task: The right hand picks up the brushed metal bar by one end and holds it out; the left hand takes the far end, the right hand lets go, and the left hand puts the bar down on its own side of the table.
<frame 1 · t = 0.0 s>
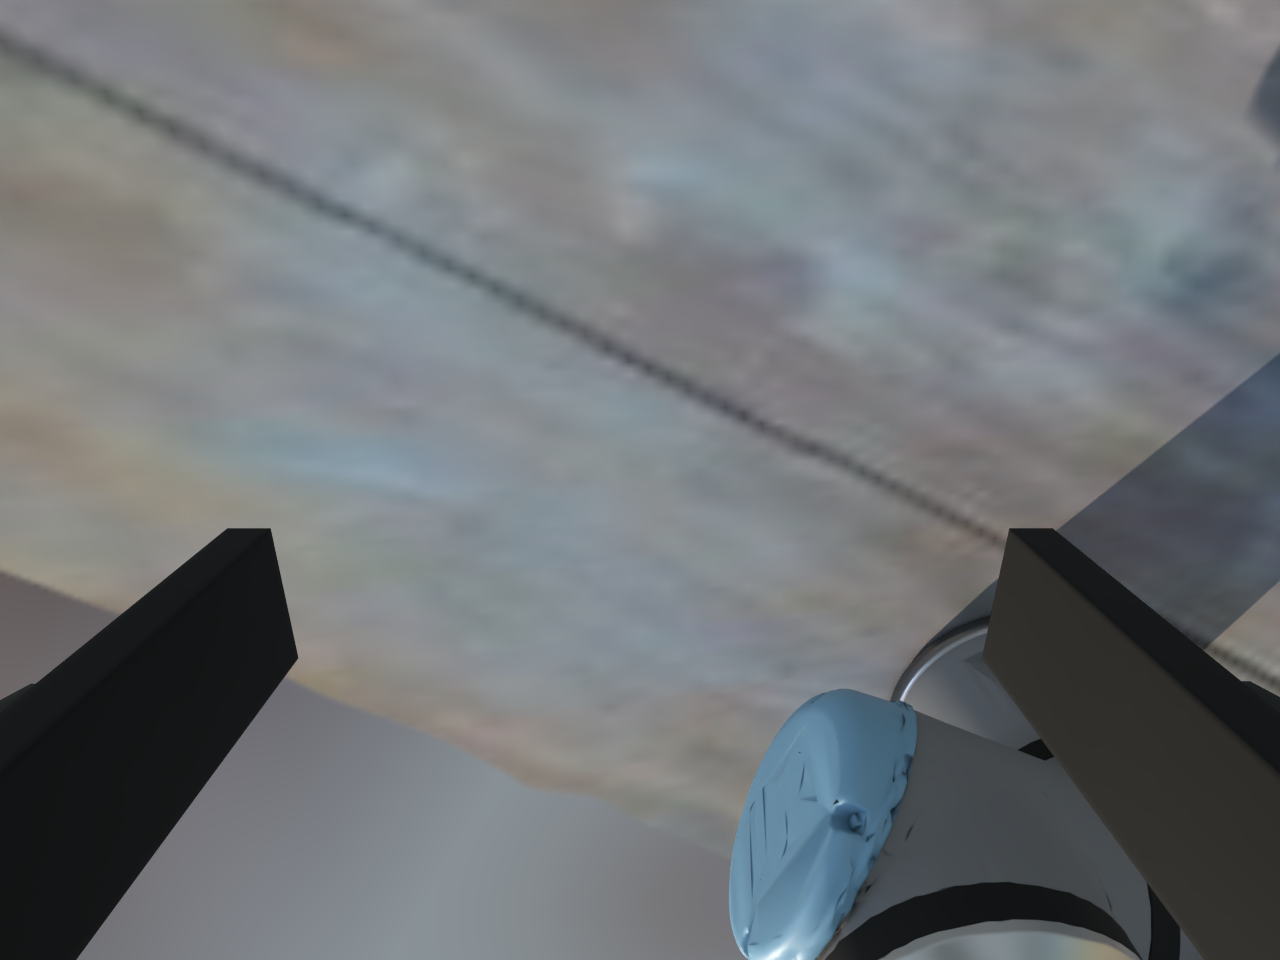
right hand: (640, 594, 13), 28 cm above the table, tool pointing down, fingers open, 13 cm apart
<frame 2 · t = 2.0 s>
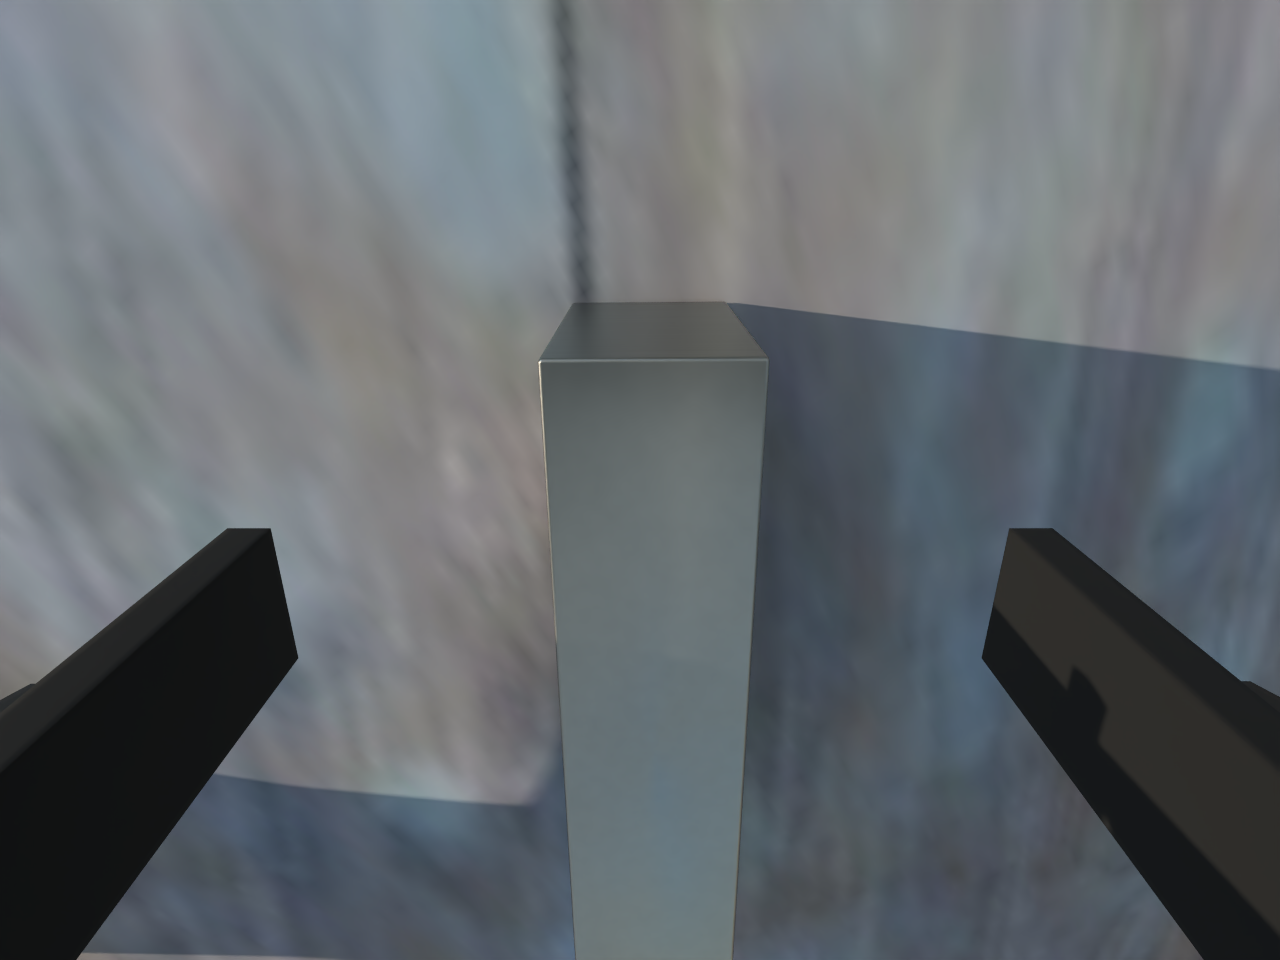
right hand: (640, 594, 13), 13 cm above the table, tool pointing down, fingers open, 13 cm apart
bar: (650, 588, 28), on the table
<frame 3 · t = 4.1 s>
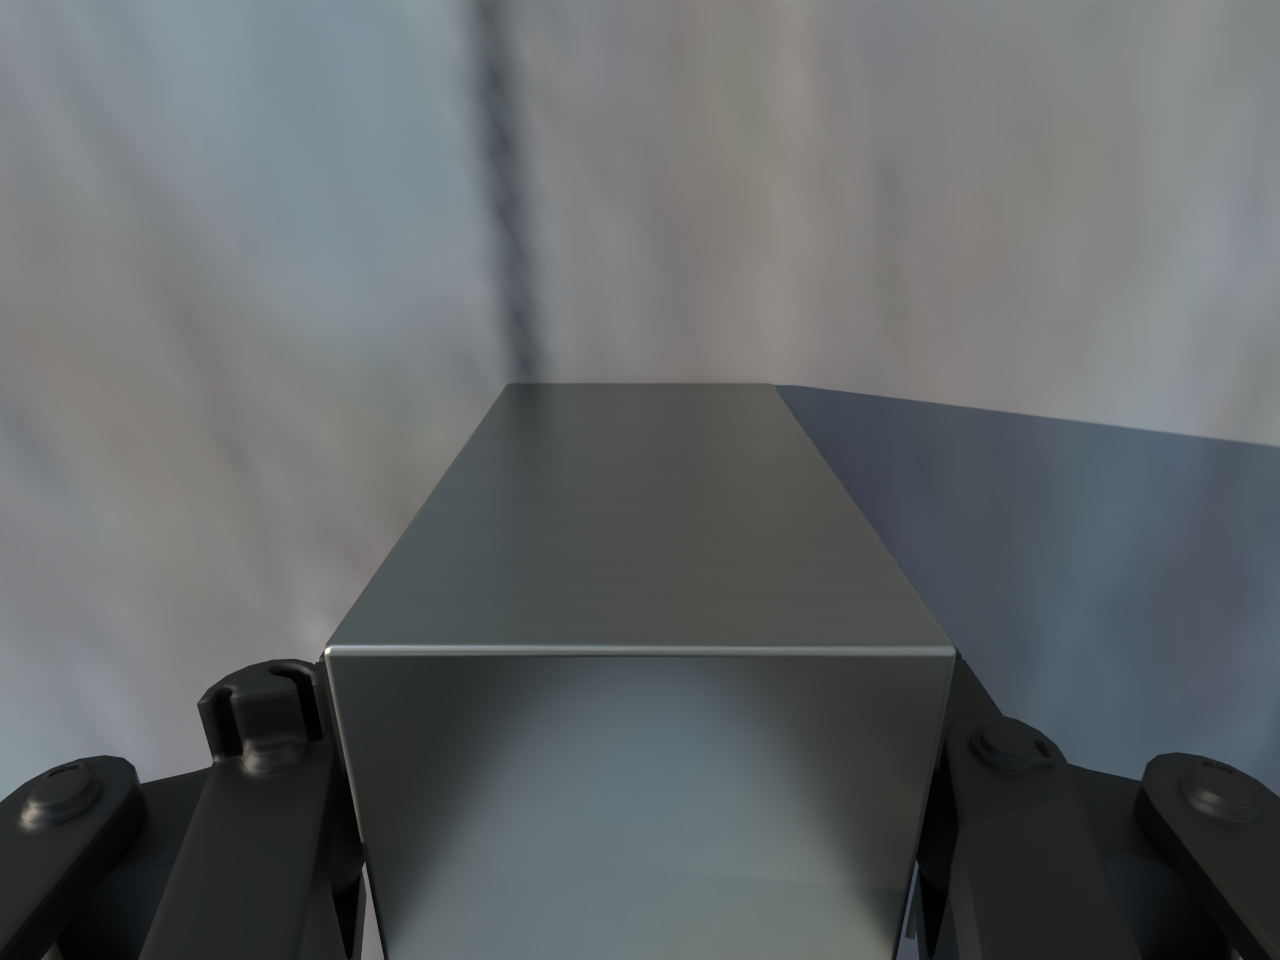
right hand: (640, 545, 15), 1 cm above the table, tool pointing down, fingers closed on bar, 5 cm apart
bar: (640, 813, 18), on the table, touching right hand
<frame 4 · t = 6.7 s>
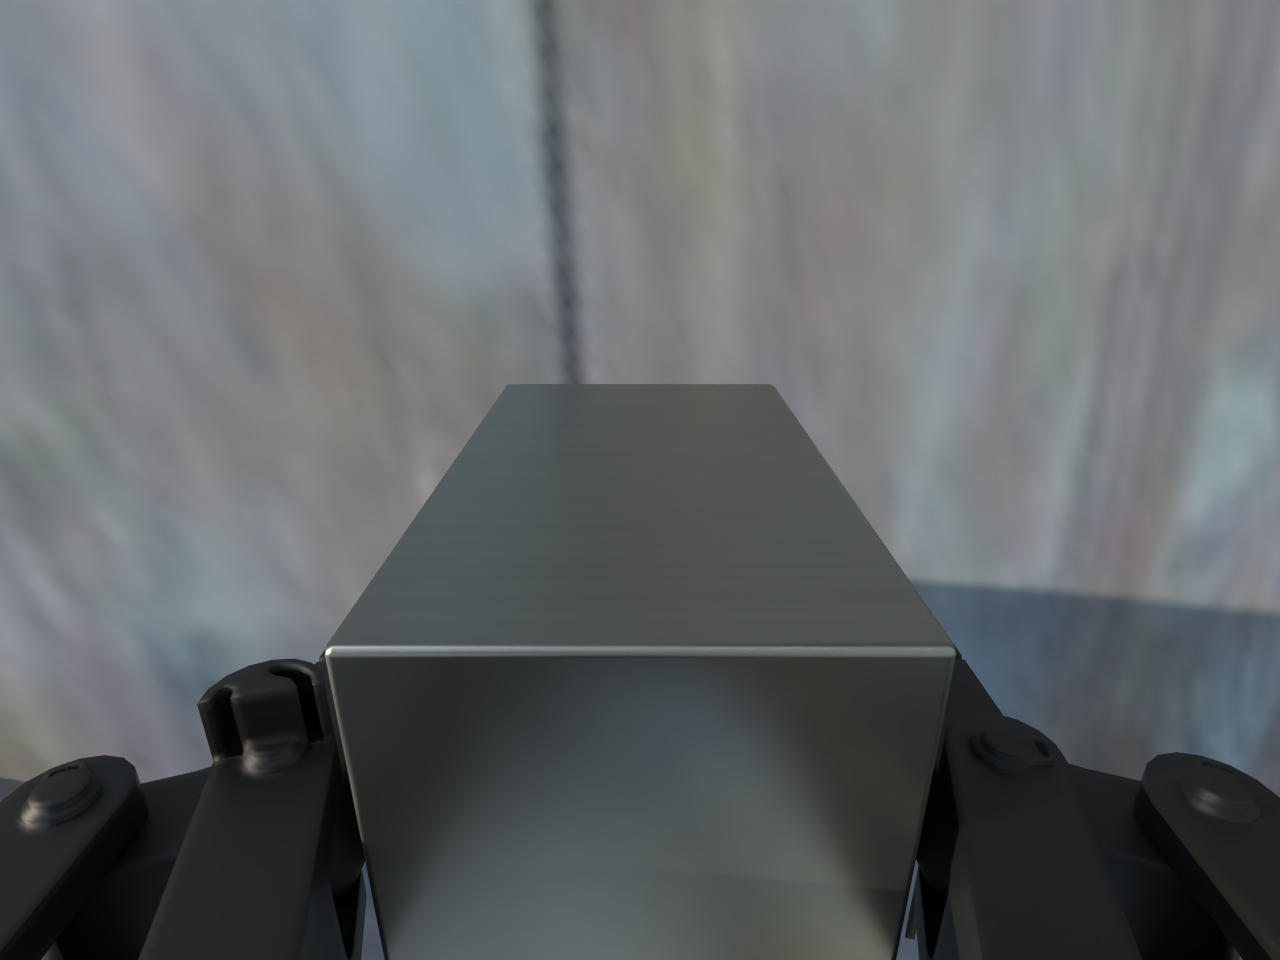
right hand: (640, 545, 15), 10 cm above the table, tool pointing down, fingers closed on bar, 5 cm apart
bar: (640, 814, 18), point 9 cm above the table, touching right hand
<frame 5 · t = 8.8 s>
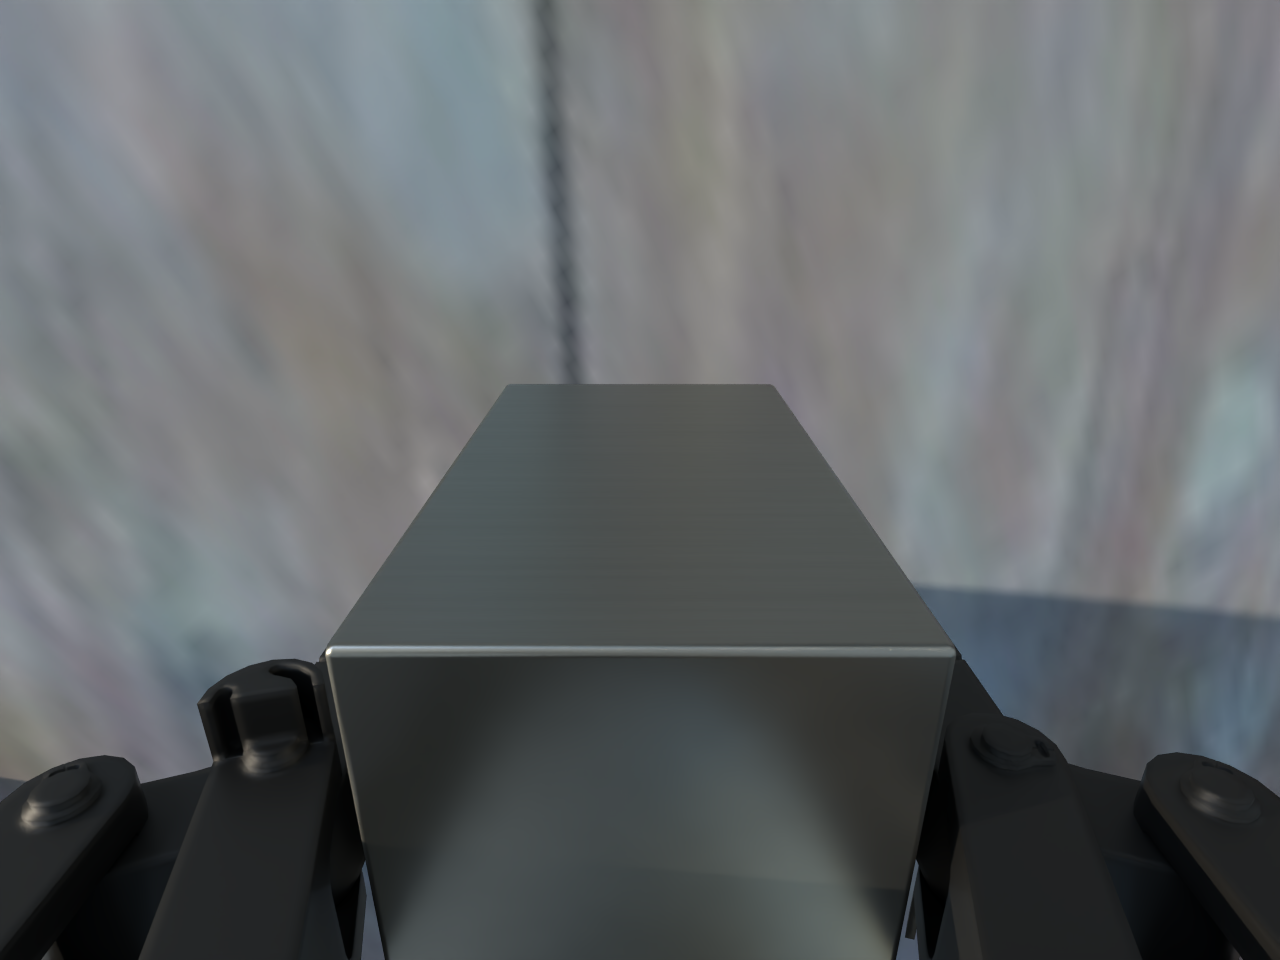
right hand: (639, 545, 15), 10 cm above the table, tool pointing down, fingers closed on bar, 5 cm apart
bar: (639, 813, 18), point 9 cm above the table, touching right hand, left hand
when the right hand's fingers open (10 cm above the table, at t = 9.6 s): bar stays where it is, held by the left hand.
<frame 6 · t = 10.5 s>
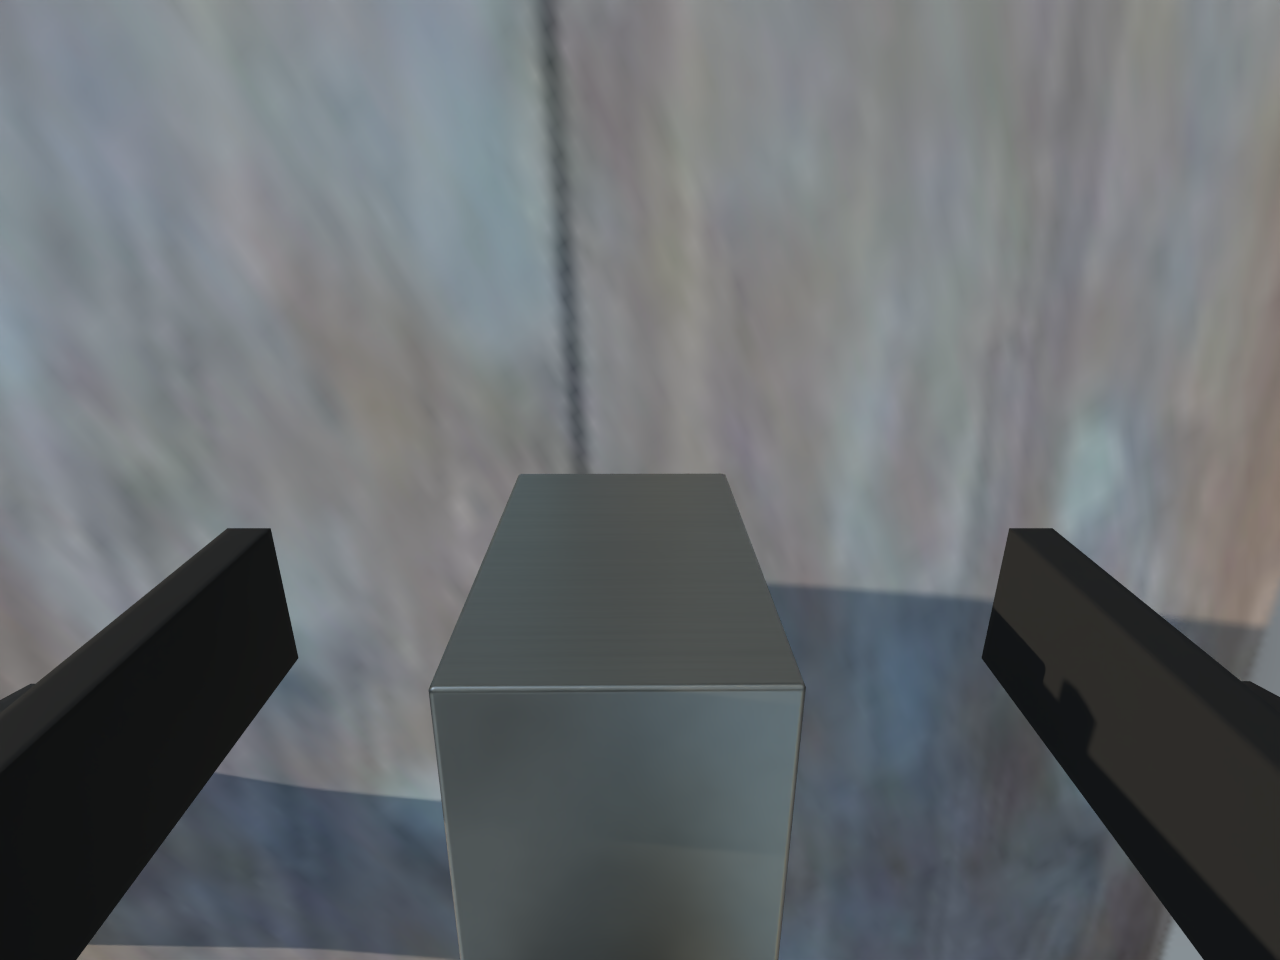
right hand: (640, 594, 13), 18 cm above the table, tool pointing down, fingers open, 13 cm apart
bar: (623, 815, 22), point 12 cm above the table, touching left hand
when the left hand's fingers open (2 cm above the table, at t = 13.8 s): bar drops 1 cm, on the table.
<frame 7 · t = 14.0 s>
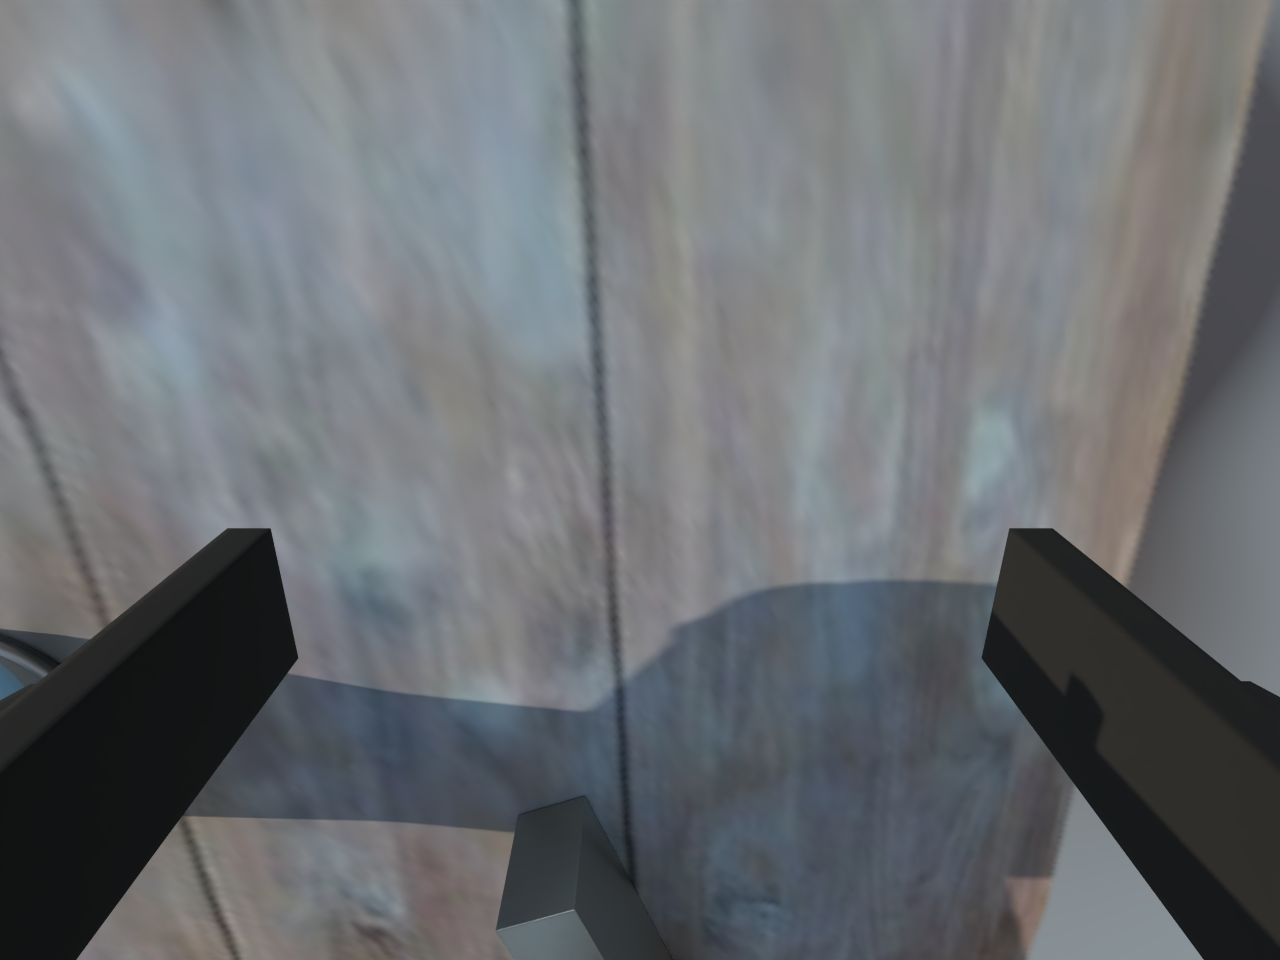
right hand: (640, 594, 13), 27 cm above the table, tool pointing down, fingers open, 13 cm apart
bar: (608, 908, 55), on the table
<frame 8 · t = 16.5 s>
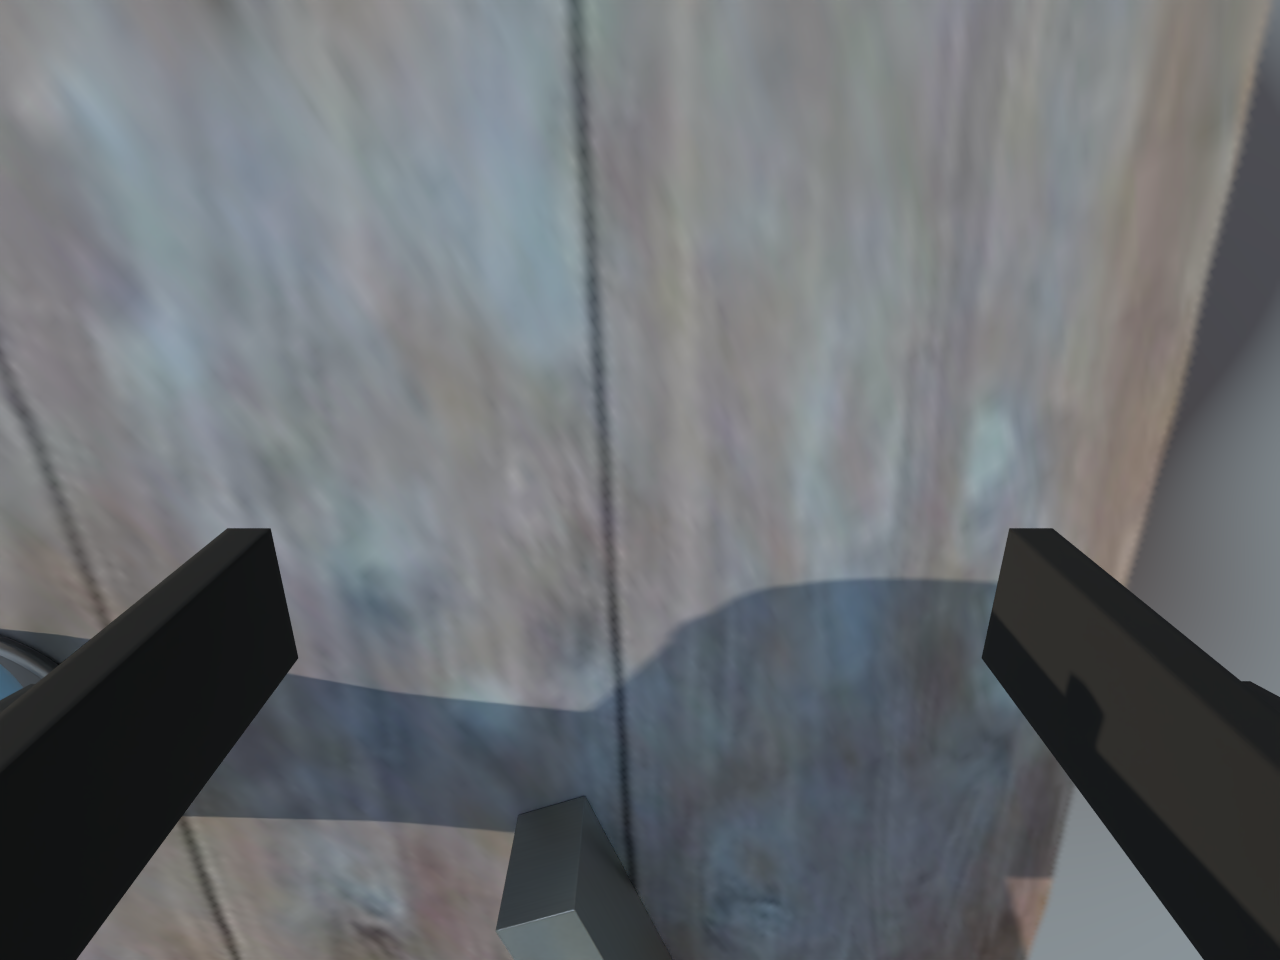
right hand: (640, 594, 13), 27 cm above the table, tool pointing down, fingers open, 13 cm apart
bar: (608, 908, 55), on the table
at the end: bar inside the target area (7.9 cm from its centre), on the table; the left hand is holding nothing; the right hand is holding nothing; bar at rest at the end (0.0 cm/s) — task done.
